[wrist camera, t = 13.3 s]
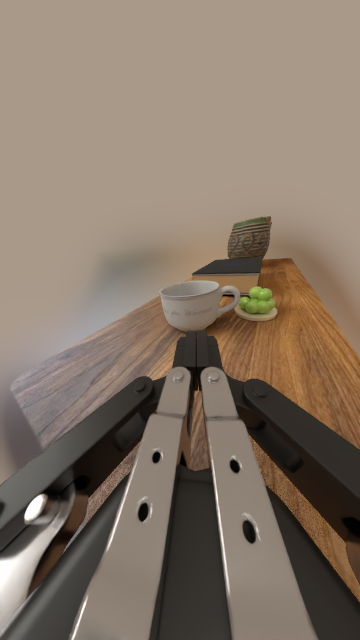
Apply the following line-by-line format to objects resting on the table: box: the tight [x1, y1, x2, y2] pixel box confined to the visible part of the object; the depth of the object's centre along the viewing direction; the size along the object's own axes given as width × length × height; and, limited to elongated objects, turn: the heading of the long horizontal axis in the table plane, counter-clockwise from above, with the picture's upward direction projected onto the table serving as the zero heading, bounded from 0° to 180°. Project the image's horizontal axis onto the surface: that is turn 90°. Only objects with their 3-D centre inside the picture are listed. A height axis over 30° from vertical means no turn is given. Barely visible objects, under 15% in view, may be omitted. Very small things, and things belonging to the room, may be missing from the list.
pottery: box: [228, 215, 272, 259], centre depth 63 cm, size 18×18×20 cm
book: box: [192, 257, 262, 296], centre depth 45 cm, size 17×25×7 cm
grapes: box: [234, 286, 277, 321], centre depth 27 cm, size 8×8×5 cm
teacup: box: [159, 281, 240, 332], centre depth 25 cm, size 14×11×8 cm
